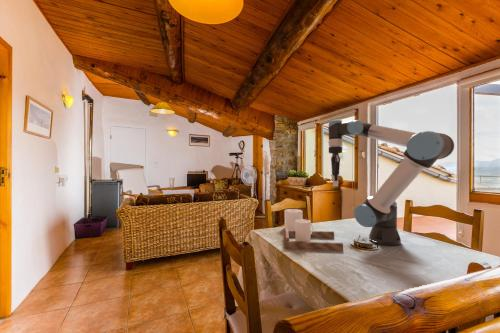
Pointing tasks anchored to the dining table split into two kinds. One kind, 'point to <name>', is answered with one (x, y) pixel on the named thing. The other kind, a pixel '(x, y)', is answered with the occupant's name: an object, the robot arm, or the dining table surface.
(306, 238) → the mug
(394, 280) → the dining table surface
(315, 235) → the brown rectangular tray
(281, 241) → the dining table surface
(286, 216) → the cup
